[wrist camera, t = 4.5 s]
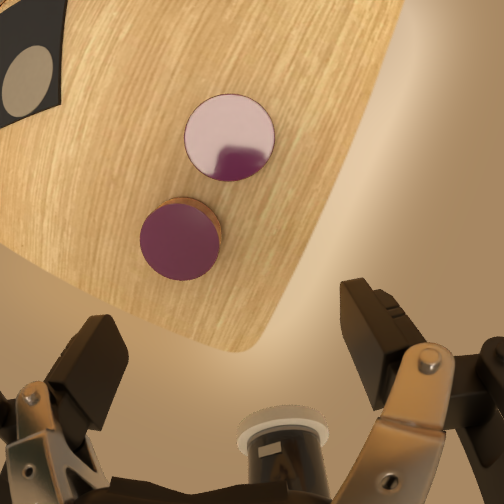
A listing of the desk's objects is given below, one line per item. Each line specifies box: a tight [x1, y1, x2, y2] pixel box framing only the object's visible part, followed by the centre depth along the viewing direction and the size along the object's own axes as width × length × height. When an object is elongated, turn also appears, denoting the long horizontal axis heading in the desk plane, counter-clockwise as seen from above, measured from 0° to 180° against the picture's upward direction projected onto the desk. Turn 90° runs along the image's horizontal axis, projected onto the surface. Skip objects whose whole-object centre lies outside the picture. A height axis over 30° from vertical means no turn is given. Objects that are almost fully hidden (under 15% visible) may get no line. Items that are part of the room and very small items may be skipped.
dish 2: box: [184, 94, 275, 181], centre depth 19 cm, size 6×6×3 cm
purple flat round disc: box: [140, 197, 221, 281], centre depth 22 cm, size 6×6×3 cm
